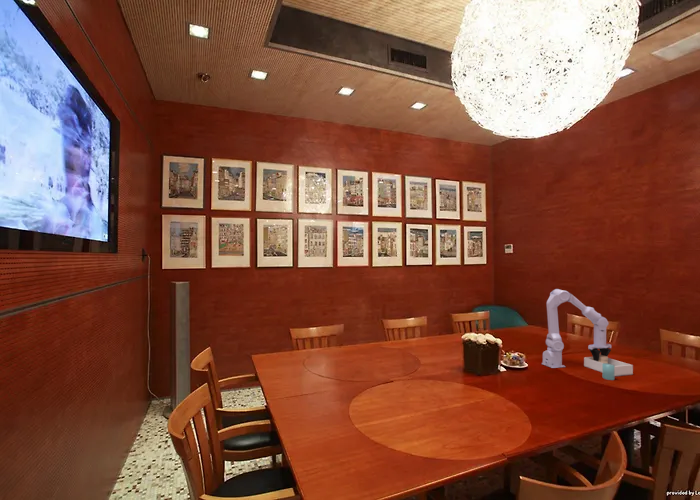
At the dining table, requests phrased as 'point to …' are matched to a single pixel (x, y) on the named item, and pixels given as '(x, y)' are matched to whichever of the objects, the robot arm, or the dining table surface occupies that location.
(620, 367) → the tote
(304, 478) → the dining table surface
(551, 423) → the dining table surface
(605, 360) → the beech cube
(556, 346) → the robot arm
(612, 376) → the teal cylinder
